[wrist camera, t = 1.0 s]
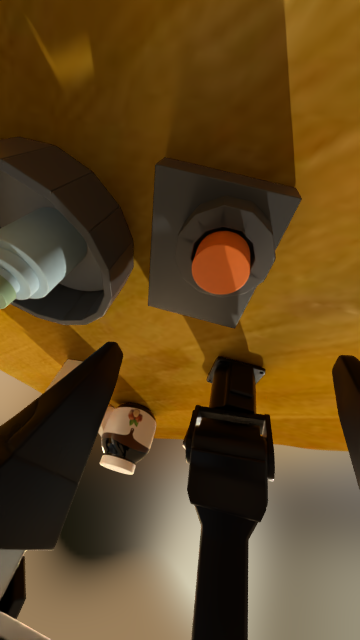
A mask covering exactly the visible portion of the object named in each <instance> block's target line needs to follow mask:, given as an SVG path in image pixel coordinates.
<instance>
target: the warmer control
mask: <svg viewBox="0 0 360 640" xmlns="http://www.w3.org/2000/svg"><path fill="white" fill-rule="evenodd" d="M301 199H302V198H301V196H300V194H299V192H298V190H297V189H296V188H294V187H290V186H285V185H281V184H277V183H272V182H268V181H264V180H260V179H255V178H251V177H247V176H243V175H238V174H234V173H230V172H226V171H221V170H217V169H213V168H208V167H204V166H200V165H196V164H191V163H187V162H183V161H179V160H174V159H170V158H166V157H165V158H164V159H162V160H161V161H159V162H158V163H157V164H156V165H155V182H154V201H153V220H152V239H151V258H150V277H149V296H148V306H152V307H156V308H159V309H163V310H167V311H171V312H174V313H178V314H182V315H186V316H190V317H193V318H197V319H201V320H205V321H208V322H212V323H216V324H220V325H223V326H227V327H231V328H235V327H236V325H237V323H238V321H239V320H240V318H241V316H242V314H243V312H244V310H245V308H246V306H247V304H248V302H249V300H250V298H251V296H252V294H253V292H254V290H255V289H256V287H257V285H259V284H260V283H262V282H263V281H264V280H265V278H266V276H267V274H268V272H269V270H270V268H271V267H272V265H273V263H274V261H275V250H276V248H277V246H278V244H279V242H280V240H281V238H282V236H283V234H284V232H285V230H286V228H287V227H288V225H289V223H290V221H291V219H292V217H293V215H294V213H295V211H296V209H297V207H298V205H299V203H300V201H301ZM217 231H231V232H234V233H236V234H238V235H240V236H241V237H242V238H243V239H244V240H245V241H246V242H247V244H248V246H249V249H250V275H249V278H248V280H247V282H246V283H245V284H244V285H243V286H242V287H241V288H240V289H238V290H237V291H235V292H232V293H229V294H213V293H210V292H207V291H205V290H204V289H202V288H201V287H200V286H199V285H198V284H197V283H196V281H195V280H194V278H193V275H192V263H193V260H194V257H195V254H196V251H197V248H198V246H199V244H200V242H201V241H202V240H203V239H204V238H205V237H206V236H207V235H209V234H211V233H213V232H217Z"/></svg>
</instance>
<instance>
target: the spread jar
mask: <svg viewBox="0 0 360 640" xmlns="http://www.w3.org/2000/svg"><path fill="white" fill-rule="evenodd" d="M155 429H156V420H155V417H154V415H153V414H152V412H151V411H150V410H149V409H148V408H146V407H144V406H142V405H139V404H136V403H124V404H122V405H120V406H118V407H117V408H116V409H115V408H114V407H112V406H108V407H107V410H106V412H105V415H104V418H103V420H102V423H101V426H100V428H99V431H98V433H99V434H100V435H101V437H102V438H101V444H102V449H103V451H104V454H103V456H102V458H101V461H100V465H102V466H104V467H106V468H108V469H111V470H114V471H117V472H120V473H124V474H131V475H132V474H133V473H134V470H135V467H136V466H135V465H136V463H137V462H139V461H140V460H141V459H143V458H144V457H145V456H146V454H147V453H148V451H149V450H150V447H151V444H152V441H153V437H154V434H155Z"/></svg>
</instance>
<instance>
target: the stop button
mask: <svg viewBox="0 0 360 640" xmlns="http://www.w3.org/2000/svg"><path fill="white" fill-rule="evenodd" d="M192 275H193V278H194V280H195V281H196V283H197V284H198V285H199V286H200V287H201V288H202V289H204V290H205V291H207V292H210V293H213V294H229V293H232V292H235V291H237V290H238V289H240V288H241V287H242V286H243V285H244V284H245V283H246V282H247V280H248V278H249V275H250V249H249V246H248V244H247V242H246V241H245V240H244V239H243V238H242V237H241V236H240V235H238V234H236V233H234V232H231V231H217V232H213V233H211V234H209V235H207V236H206V237H205V238H204V239H203V240H202V241H201V242H200V244H199V246H198V248H197V251H196V254H195V257H194V260H193V263H192Z"/></svg>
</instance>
